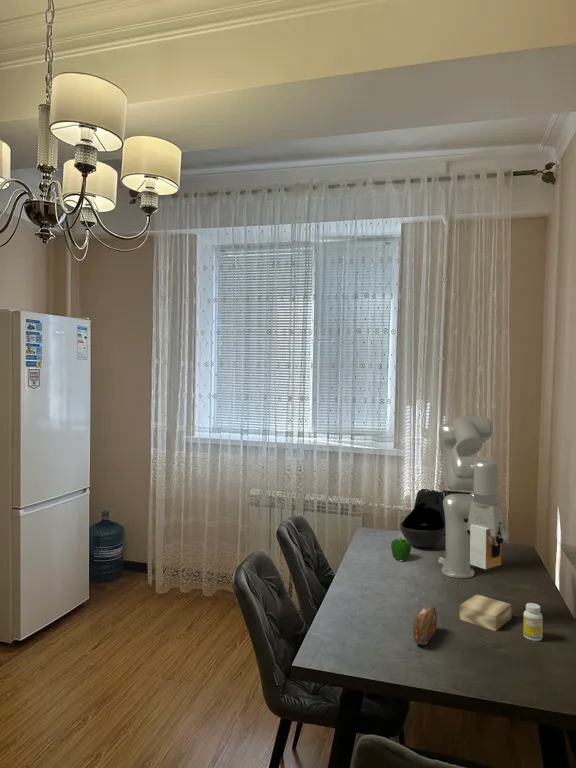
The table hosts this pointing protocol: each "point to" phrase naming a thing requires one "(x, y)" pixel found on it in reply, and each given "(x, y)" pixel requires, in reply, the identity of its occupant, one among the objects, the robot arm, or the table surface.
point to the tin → (424, 625)
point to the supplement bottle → (532, 622)
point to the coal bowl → (423, 527)
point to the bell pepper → (401, 549)
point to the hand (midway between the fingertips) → (485, 553)
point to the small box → (482, 548)
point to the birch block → (485, 612)
